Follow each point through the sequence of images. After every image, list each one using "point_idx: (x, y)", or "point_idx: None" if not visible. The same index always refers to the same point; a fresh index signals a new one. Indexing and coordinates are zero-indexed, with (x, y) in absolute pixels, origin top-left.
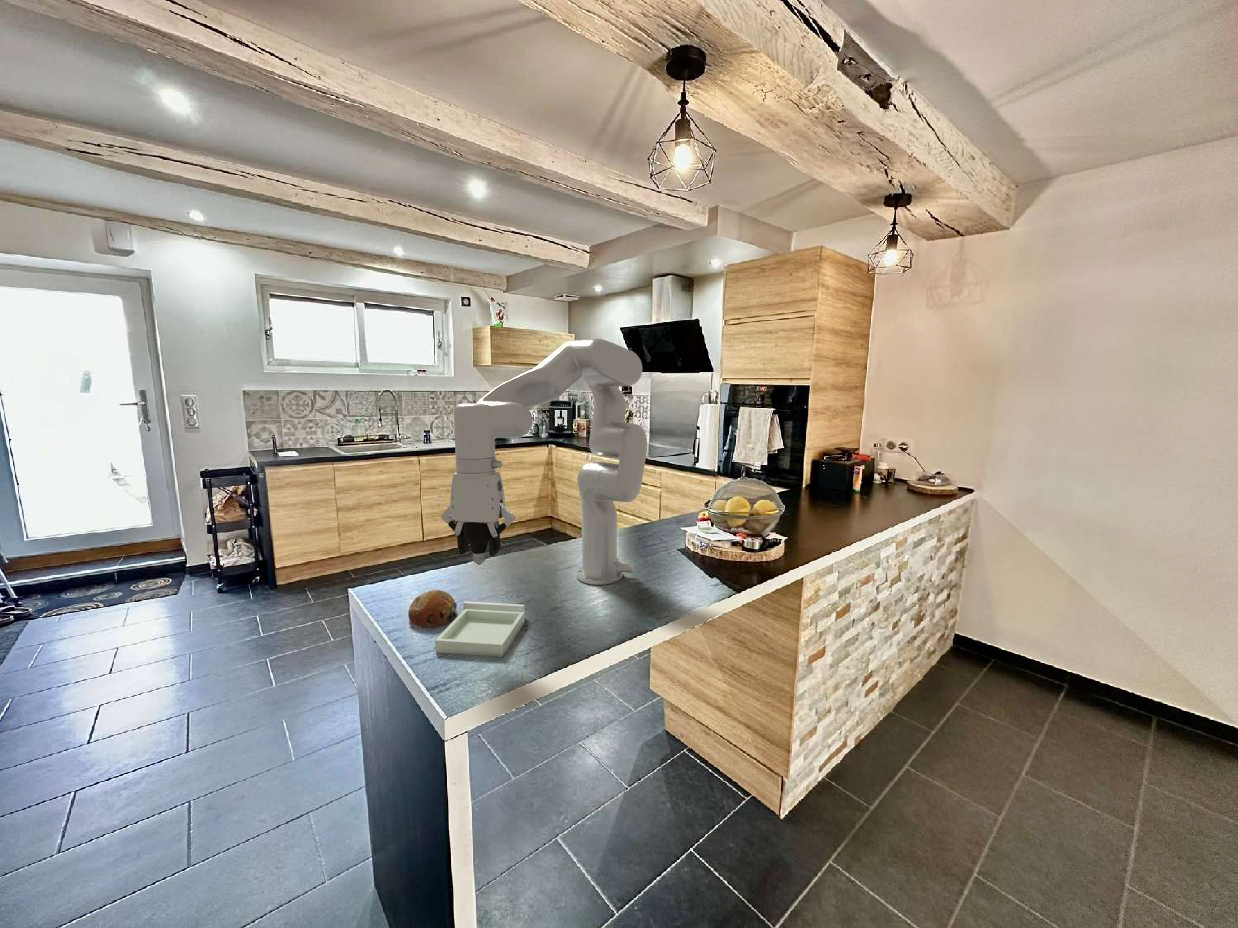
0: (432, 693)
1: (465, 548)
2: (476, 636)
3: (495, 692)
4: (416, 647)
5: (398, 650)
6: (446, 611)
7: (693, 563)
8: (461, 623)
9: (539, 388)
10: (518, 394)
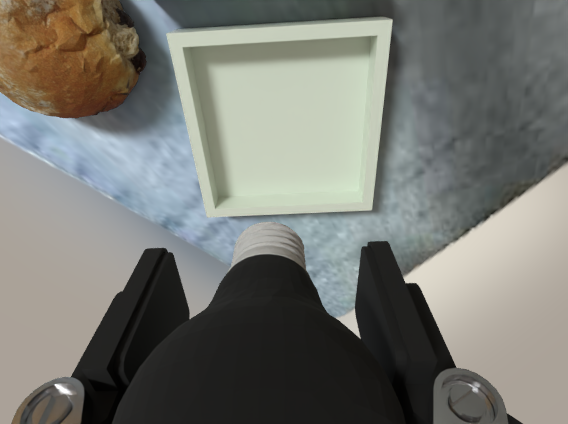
0: None
1: (176, 310)
2: (273, 139)
3: None
4: (157, 191)
5: (129, 207)
6: (126, 80)
7: None
8: (197, 89)
9: None
10: None
